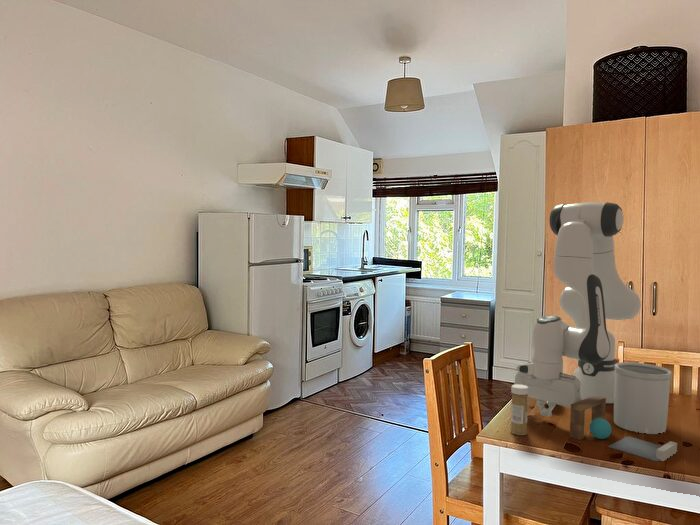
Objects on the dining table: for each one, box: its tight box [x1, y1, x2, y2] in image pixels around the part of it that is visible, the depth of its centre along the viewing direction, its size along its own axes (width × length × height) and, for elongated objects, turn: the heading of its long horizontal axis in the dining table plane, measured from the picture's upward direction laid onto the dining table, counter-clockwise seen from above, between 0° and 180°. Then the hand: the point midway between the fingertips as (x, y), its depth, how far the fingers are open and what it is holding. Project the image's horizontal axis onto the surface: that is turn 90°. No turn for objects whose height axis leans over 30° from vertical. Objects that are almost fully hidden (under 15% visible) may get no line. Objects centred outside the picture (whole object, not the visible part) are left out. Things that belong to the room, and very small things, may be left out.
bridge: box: [569, 395, 607, 441], centre depth 151 cm, size 3×14×9 cm, turn 130°
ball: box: [589, 418, 612, 440], centre depth 147 cm, size 6×6×6 cm
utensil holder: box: [613, 361, 673, 435], centre depth 157 cm, size 15×15×18 cm
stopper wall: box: [656, 440, 678, 462], centre depth 135 cm, size 9×2×2 cm, turn 130°
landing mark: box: [608, 435, 663, 463], centre depth 140 cm, size 12×12×1 cm
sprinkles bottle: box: [510, 384, 529, 436], centre depth 150 cm, size 5×5×13 cm
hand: (545, 415), depth 161 cm, fingers closed
